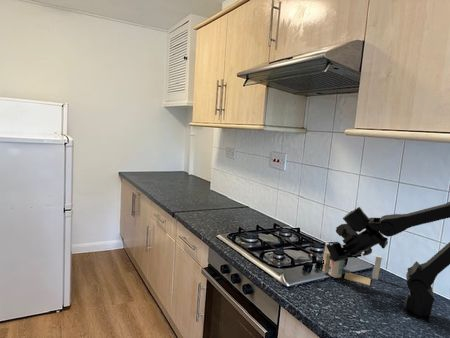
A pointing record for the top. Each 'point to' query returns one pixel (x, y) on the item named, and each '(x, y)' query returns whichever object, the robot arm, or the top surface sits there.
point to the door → (326, 262)
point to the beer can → (336, 268)
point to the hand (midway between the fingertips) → (334, 257)
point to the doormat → (357, 278)
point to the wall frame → (376, 266)
